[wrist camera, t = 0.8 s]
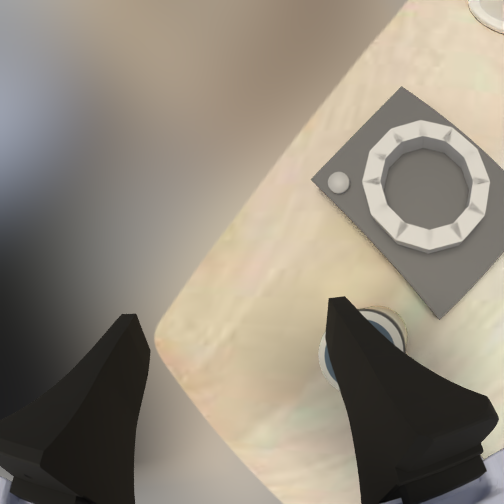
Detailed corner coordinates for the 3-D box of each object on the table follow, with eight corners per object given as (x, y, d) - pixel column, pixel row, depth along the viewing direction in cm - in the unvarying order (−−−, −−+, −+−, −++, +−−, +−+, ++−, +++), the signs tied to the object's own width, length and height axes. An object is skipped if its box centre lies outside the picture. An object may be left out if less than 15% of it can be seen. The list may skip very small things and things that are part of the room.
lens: (421, 340, 21) (422, 360, 14) (370, 382, 22) (350, 414, 16) (380, 290, 23) (365, 290, 16) (331, 333, 24) (299, 348, 18)
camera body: (529, 213, 17) (546, 199, 14) (437, 317, 20) (441, 322, 17) (403, 99, 23) (398, 71, 19) (318, 187, 26) (301, 170, 23)
